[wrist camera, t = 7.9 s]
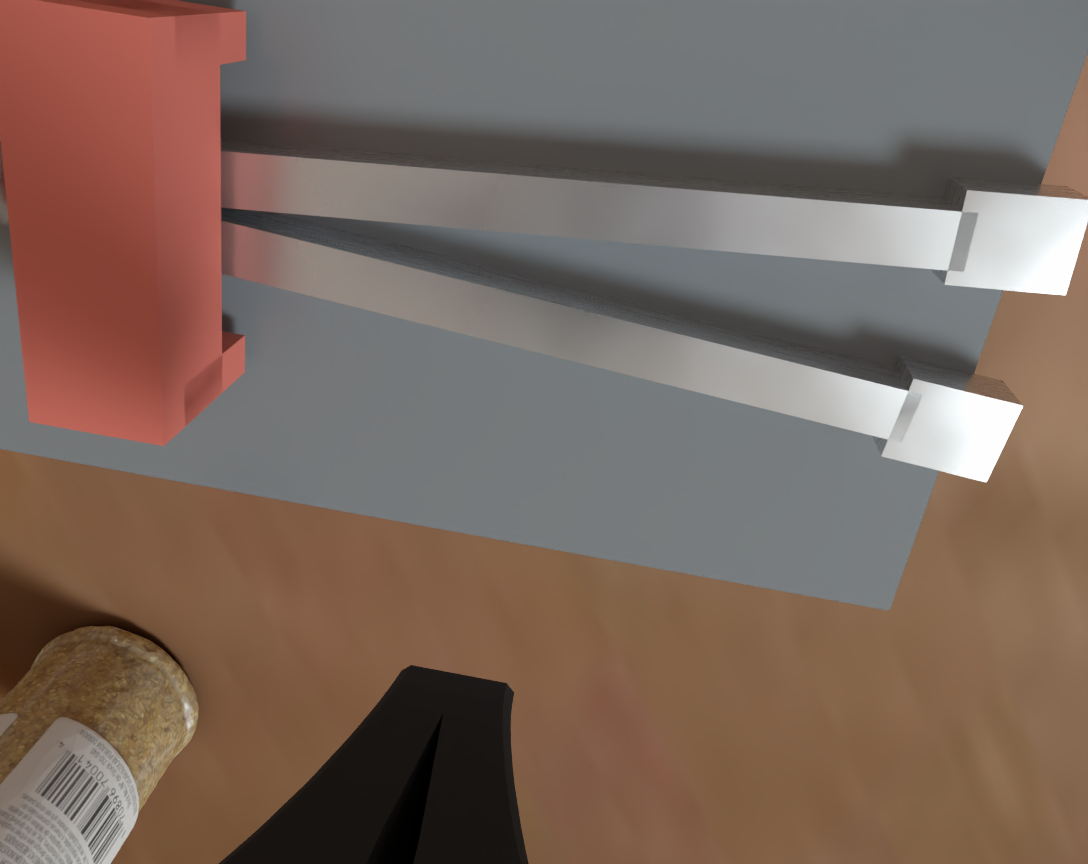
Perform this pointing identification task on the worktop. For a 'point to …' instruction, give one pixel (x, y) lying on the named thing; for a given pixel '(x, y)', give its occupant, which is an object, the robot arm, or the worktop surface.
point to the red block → (118, 209)
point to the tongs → (665, 220)
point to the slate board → (610, 270)
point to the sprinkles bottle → (88, 744)
